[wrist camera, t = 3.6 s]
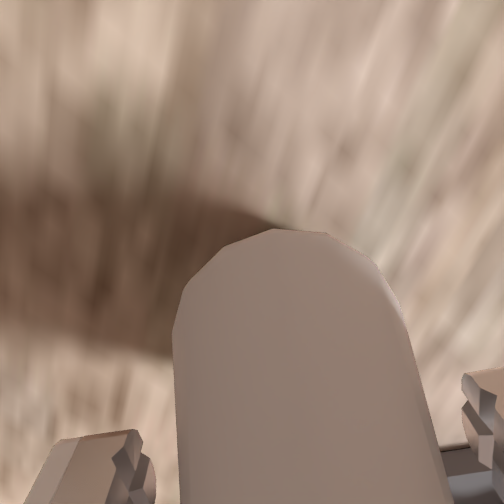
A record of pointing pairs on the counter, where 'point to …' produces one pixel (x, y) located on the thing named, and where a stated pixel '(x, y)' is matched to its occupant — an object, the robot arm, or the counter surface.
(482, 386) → the robot arm
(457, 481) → the gray square base
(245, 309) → the salt shaker
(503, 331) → the counter surface
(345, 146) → the counter surface
